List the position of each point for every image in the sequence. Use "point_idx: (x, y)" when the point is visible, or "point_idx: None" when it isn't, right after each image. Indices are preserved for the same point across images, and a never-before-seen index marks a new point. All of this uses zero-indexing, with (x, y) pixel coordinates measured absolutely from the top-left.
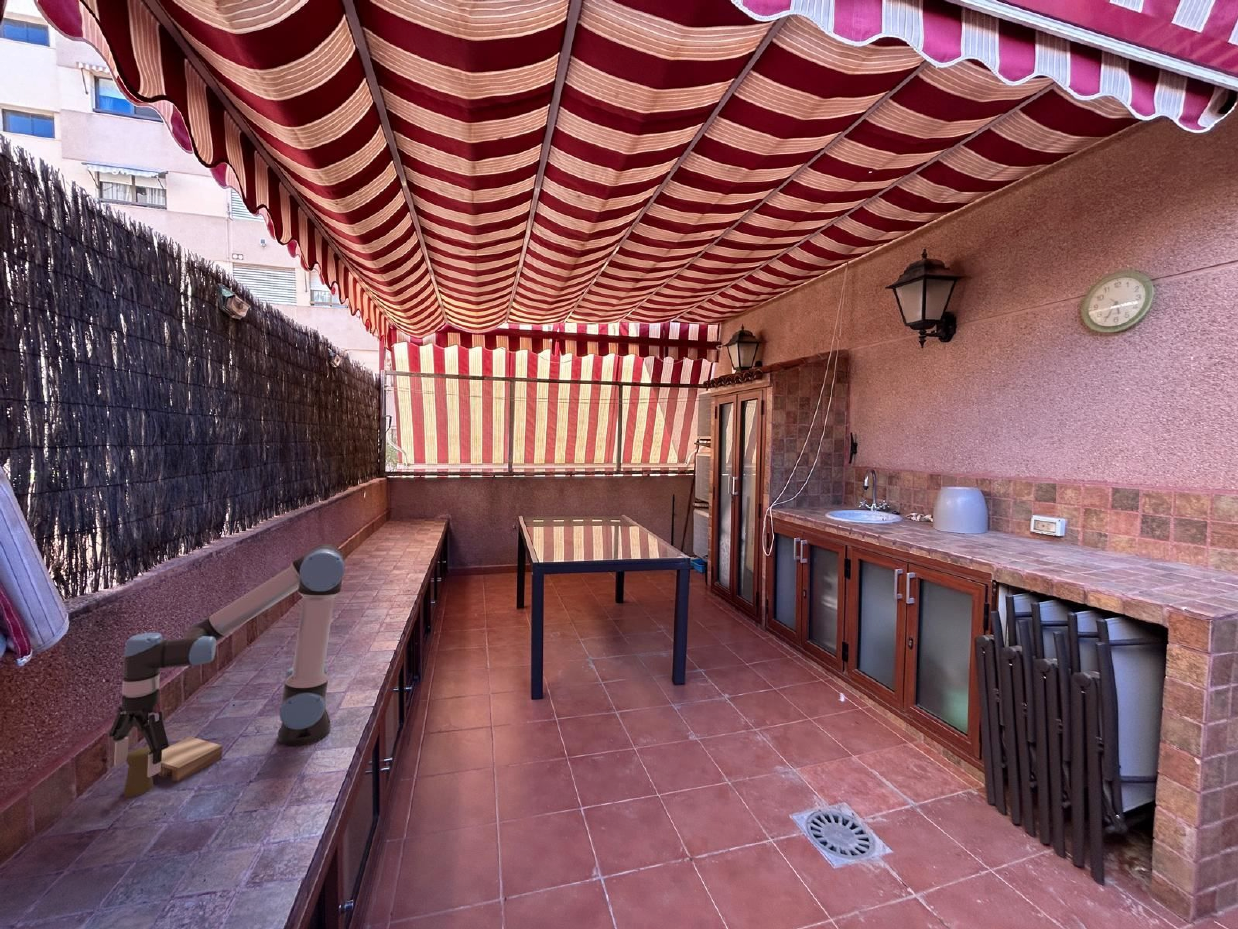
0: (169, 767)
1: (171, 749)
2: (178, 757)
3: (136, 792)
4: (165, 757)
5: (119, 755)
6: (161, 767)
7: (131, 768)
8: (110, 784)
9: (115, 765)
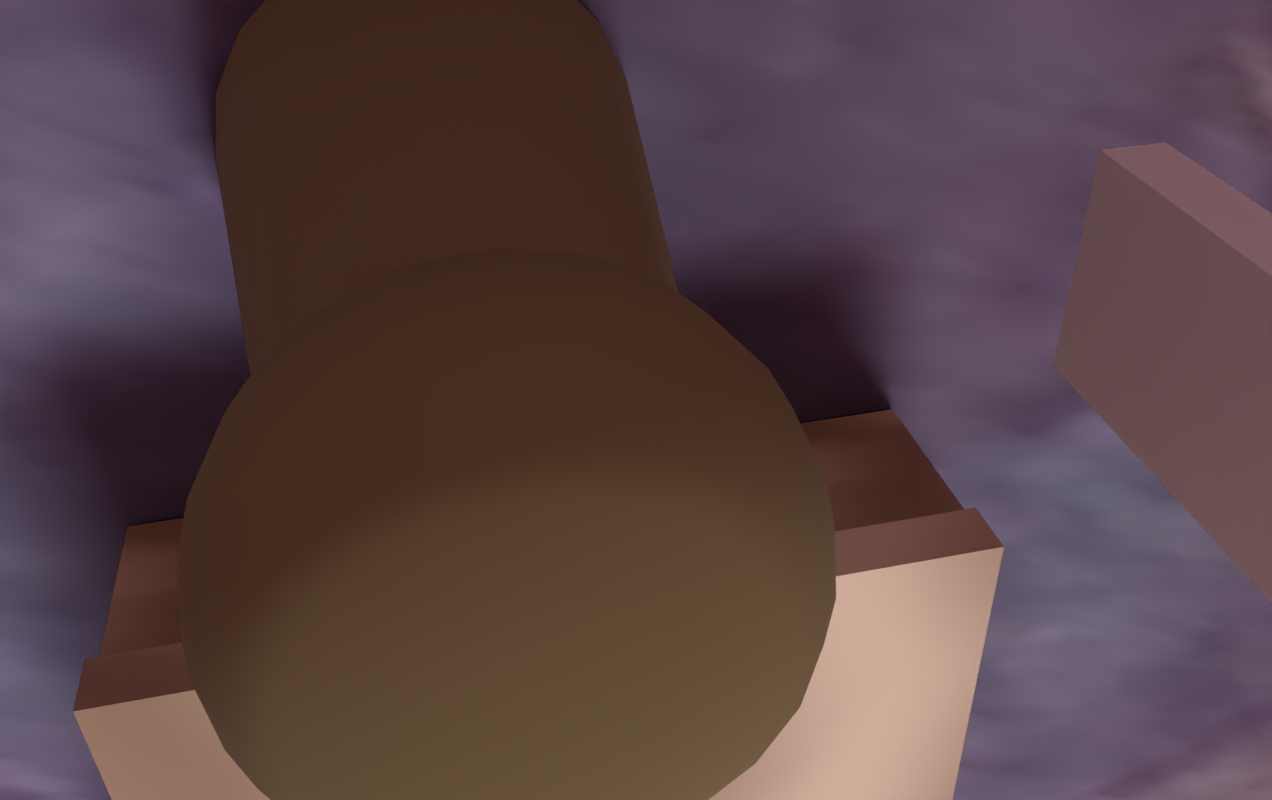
0: None
1: (838, 790)
2: None
3: (246, 64)
4: None
5: (1229, 332)
6: None
7: (415, 245)
8: (1056, 13)
9: (1114, 151)
